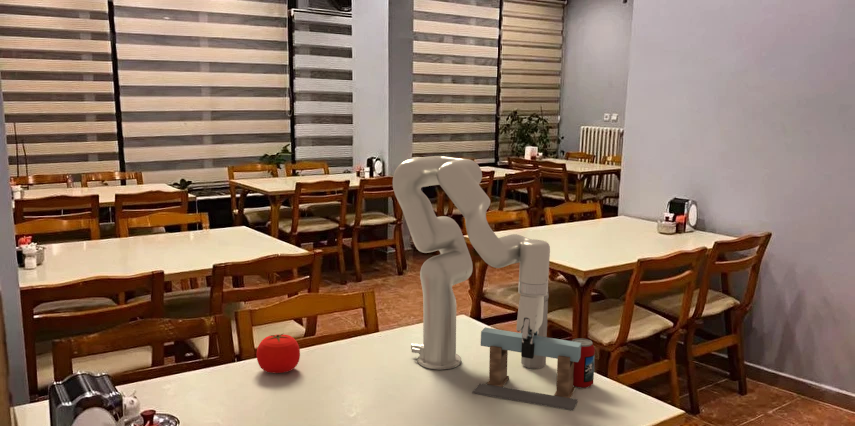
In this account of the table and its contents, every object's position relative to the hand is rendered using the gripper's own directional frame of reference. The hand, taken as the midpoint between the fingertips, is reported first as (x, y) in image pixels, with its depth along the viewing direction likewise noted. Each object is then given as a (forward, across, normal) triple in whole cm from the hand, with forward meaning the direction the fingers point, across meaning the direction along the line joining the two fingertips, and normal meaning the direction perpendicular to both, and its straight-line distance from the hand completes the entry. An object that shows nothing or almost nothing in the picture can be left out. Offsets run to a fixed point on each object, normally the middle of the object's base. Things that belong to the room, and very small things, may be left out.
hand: (529, 354), depth 181 cm
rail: (-1, 0, 0) cm, 1 cm away
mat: (+9, +7, +1) cm, 11 cm away
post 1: (+9, 0, -8) cm, 12 cm away
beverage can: (+9, -7, +13) cm, 17 cm away
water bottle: (+10, -16, -3) cm, 19 cm away
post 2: (+9, 0, +10) cm, 13 cm away
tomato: (+11, +17, -67) cm, 70 cm away
